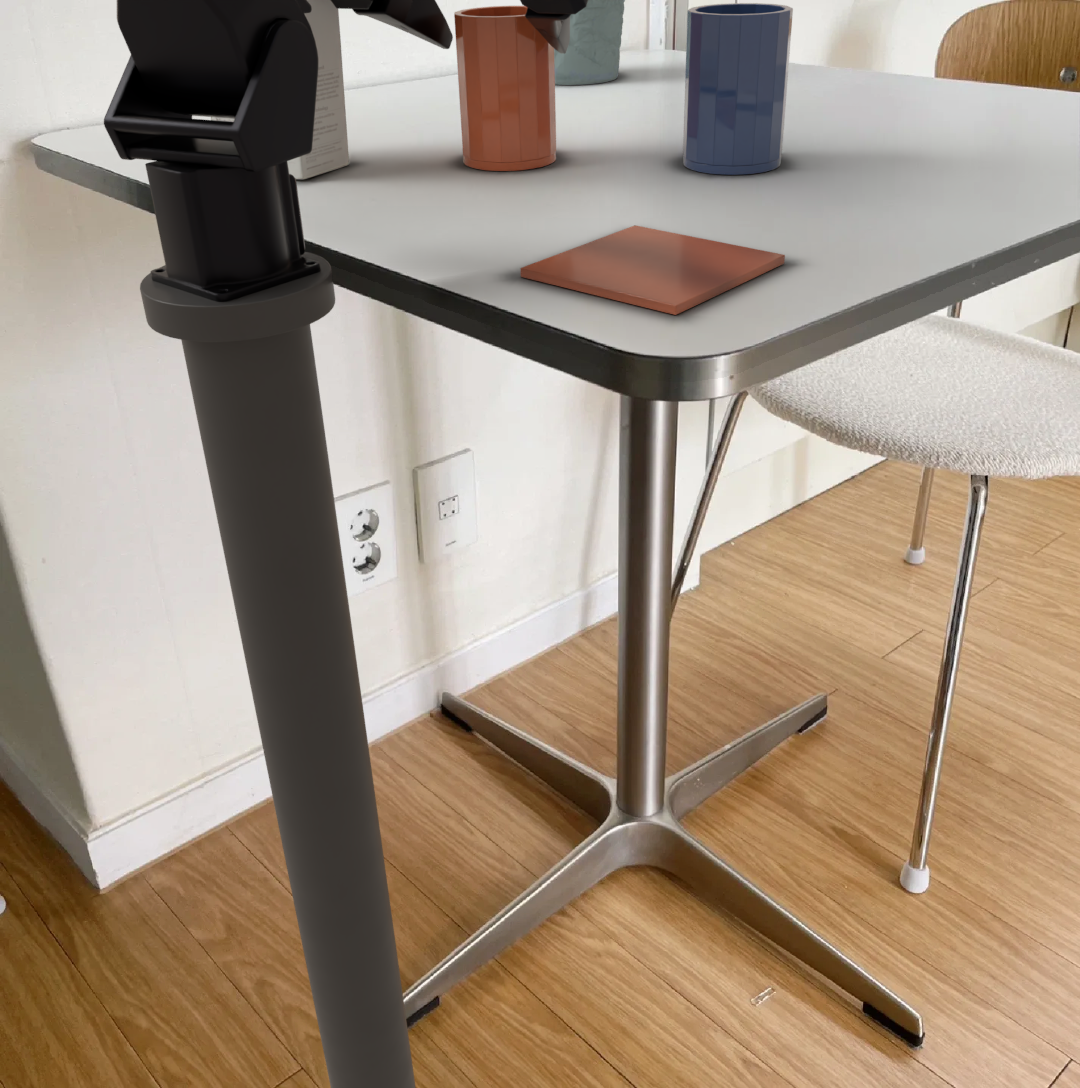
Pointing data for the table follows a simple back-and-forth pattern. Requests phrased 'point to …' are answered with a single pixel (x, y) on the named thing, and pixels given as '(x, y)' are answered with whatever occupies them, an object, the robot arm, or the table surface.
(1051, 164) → the table surface
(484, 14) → the terracotta crock
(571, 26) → the grey-green textured cylinder
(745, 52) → the blue crock
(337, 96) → the cosmetic box
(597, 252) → the plate
